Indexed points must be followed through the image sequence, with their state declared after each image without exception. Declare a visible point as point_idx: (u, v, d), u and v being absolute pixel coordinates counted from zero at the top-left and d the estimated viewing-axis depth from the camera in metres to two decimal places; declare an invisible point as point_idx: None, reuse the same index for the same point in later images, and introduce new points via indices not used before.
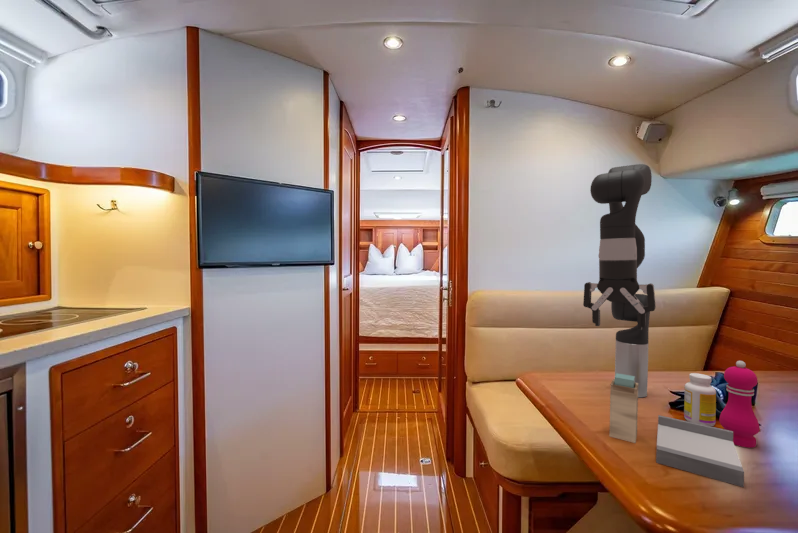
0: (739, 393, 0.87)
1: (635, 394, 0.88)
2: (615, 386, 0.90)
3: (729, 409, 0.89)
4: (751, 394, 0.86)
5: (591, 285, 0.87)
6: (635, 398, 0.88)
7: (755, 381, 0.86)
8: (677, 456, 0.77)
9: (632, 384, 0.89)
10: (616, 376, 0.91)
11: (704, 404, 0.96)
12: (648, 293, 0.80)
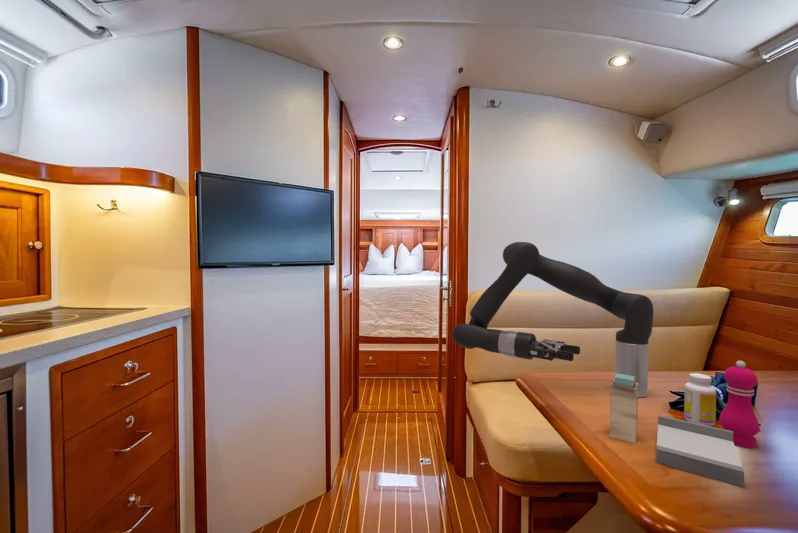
0: (739, 393, 0.87)
1: (635, 394, 0.88)
2: (615, 386, 0.90)
3: (729, 409, 0.89)
4: (751, 394, 0.86)
5: None
6: (635, 398, 0.88)
7: (755, 381, 0.86)
8: (677, 456, 0.77)
9: (632, 384, 0.89)
10: (616, 376, 0.91)
11: (704, 404, 0.96)
12: None
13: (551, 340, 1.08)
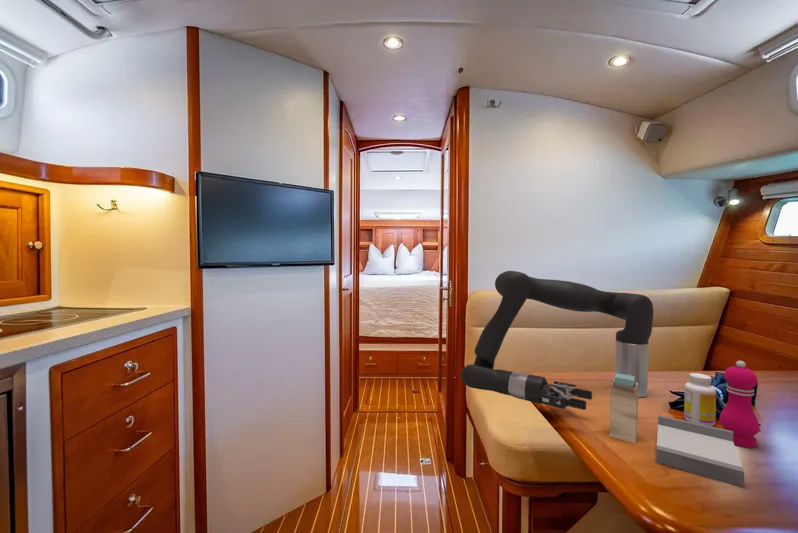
0: (739, 393, 0.87)
1: (635, 394, 0.88)
2: (615, 386, 0.90)
3: (729, 409, 0.89)
4: (751, 394, 0.86)
5: None
6: (635, 398, 0.88)
7: (755, 381, 0.86)
8: (677, 456, 0.77)
9: (632, 384, 0.89)
10: (616, 376, 0.91)
11: (704, 404, 0.96)
12: None
13: (562, 382, 1.06)
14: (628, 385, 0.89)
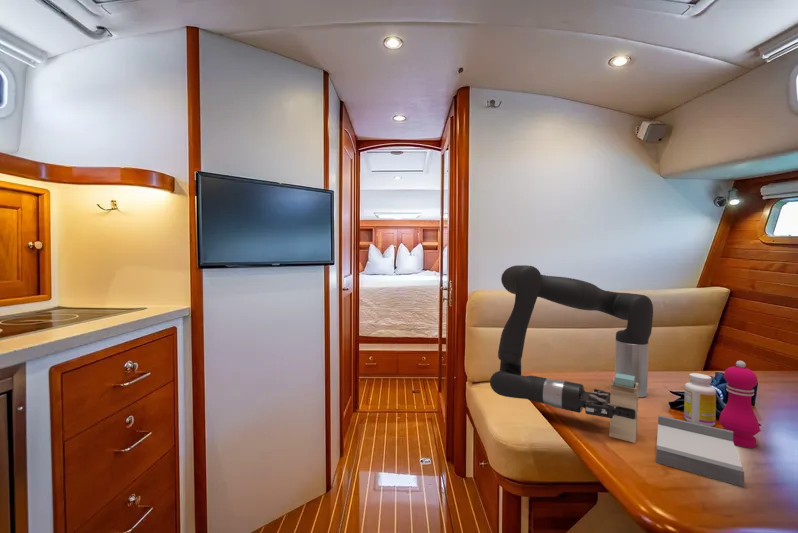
0: (739, 393, 0.87)
1: (635, 394, 0.88)
2: (615, 386, 0.90)
3: (729, 409, 0.89)
4: (751, 394, 0.86)
5: None
6: (635, 398, 0.88)
7: (755, 381, 0.86)
8: (677, 456, 0.77)
9: (632, 384, 0.89)
10: (616, 376, 0.91)
11: (704, 404, 0.96)
12: None
13: (603, 391, 1.00)
14: (628, 385, 0.89)
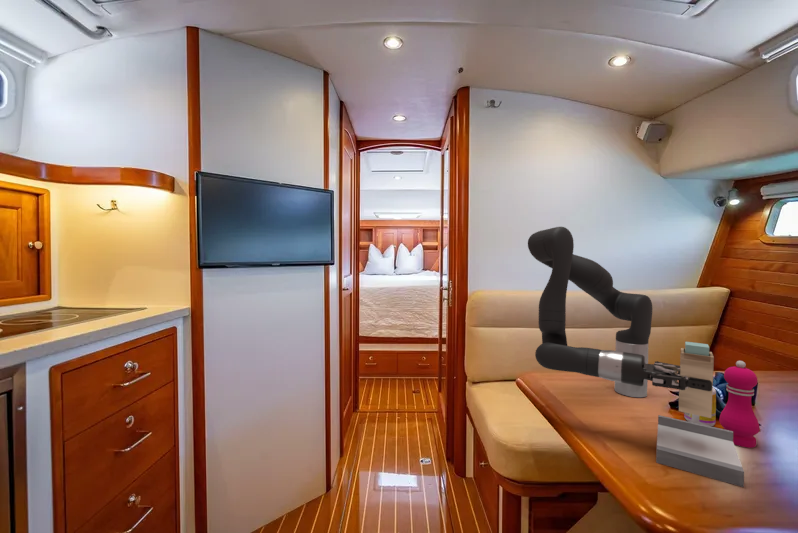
0: (739, 393, 0.87)
1: (712, 363, 0.77)
2: (687, 354, 0.80)
3: (729, 409, 0.89)
4: (751, 394, 0.86)
5: None
6: (712, 367, 0.77)
7: (755, 381, 0.86)
8: (677, 456, 0.77)
9: (707, 352, 0.78)
10: (687, 344, 0.81)
11: None
12: None
13: (666, 363, 0.89)
14: (702, 353, 0.79)
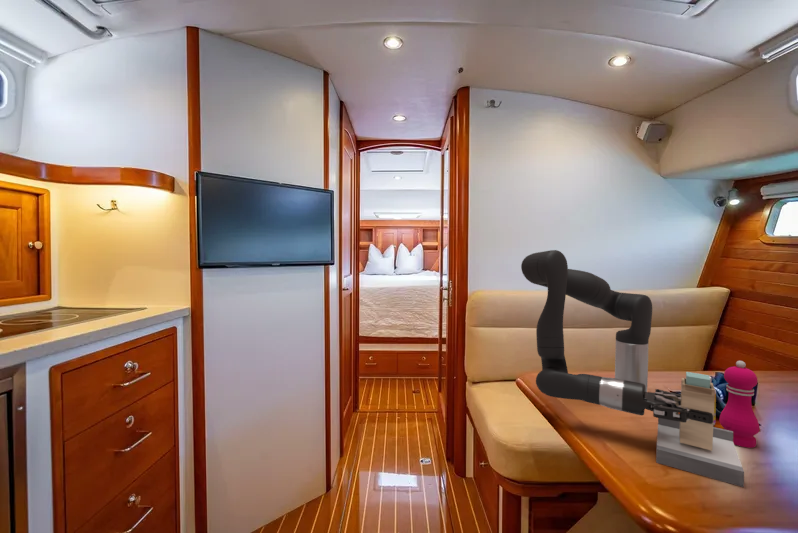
0: (739, 393, 0.87)
1: (713, 395, 0.77)
2: (688, 386, 0.80)
3: (729, 409, 0.89)
4: (751, 394, 0.86)
5: None
6: (713, 400, 0.77)
7: (755, 381, 0.86)
8: (677, 456, 0.77)
9: (708, 384, 0.78)
10: (688, 375, 0.81)
11: None
12: None
13: (666, 391, 0.90)
14: (703, 385, 0.79)
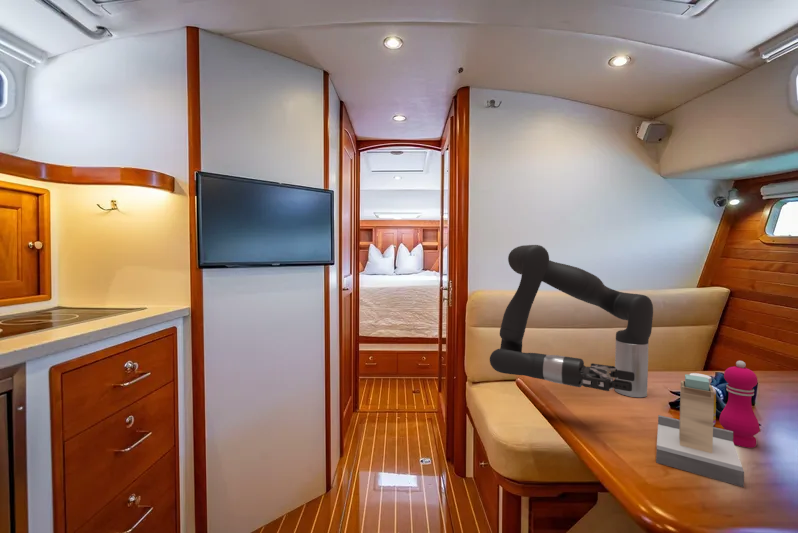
0: (739, 393, 0.87)
1: (712, 398, 0.78)
2: (687, 389, 0.80)
3: (729, 409, 0.89)
4: (751, 394, 0.86)
5: None
6: (712, 402, 0.78)
7: (755, 381, 0.86)
8: (677, 456, 0.77)
9: (707, 387, 0.79)
10: (687, 377, 0.81)
11: None
12: None
13: (599, 364, 1.00)
14: (702, 388, 0.79)
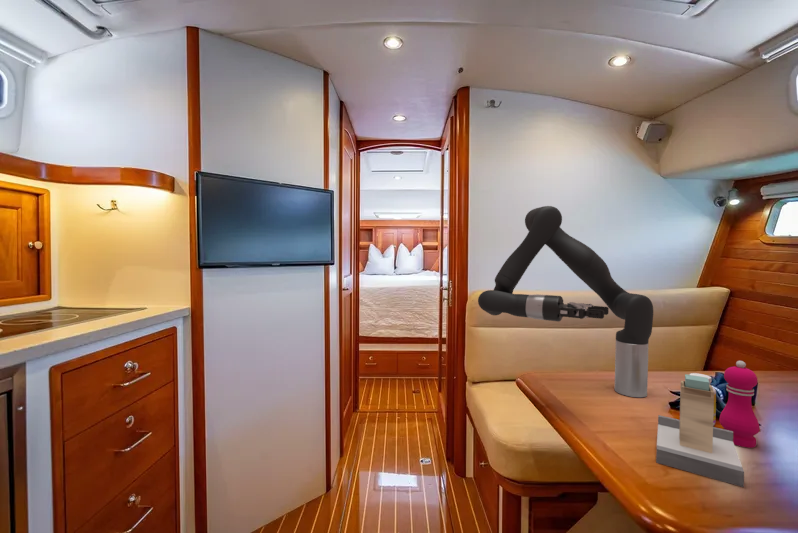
0: (739, 393, 0.87)
1: (712, 398, 0.78)
2: (687, 389, 0.80)
3: (729, 409, 0.89)
4: (751, 394, 0.86)
5: None
6: (712, 402, 0.78)
7: (755, 381, 0.86)
8: (677, 456, 0.77)
9: (707, 387, 0.79)
10: (687, 377, 0.81)
11: None
12: (568, 316, 0.99)
13: None
14: (702, 388, 0.79)
